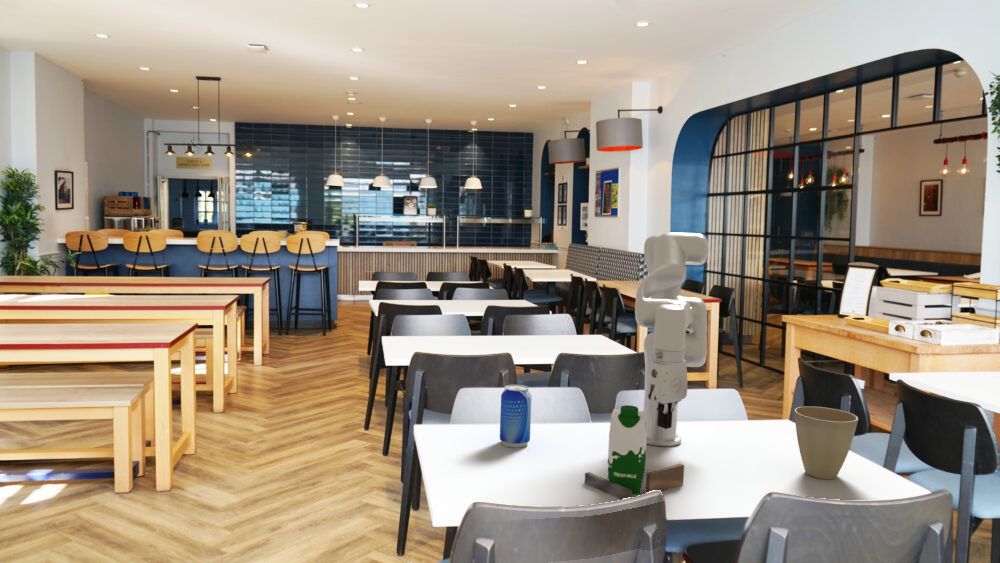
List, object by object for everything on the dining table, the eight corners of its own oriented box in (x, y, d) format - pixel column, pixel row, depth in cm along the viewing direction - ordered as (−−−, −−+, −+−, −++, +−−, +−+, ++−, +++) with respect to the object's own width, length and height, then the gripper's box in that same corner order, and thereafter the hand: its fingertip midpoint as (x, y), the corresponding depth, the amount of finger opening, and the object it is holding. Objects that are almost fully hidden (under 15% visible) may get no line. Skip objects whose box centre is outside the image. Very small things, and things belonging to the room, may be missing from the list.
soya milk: (605, 492, 178) (609, 408, 176) (607, 479, 186) (611, 399, 184) (644, 496, 176) (648, 411, 174) (644, 482, 185) (648, 402, 183)
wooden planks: (584, 483, 183) (585, 462, 183) (640, 468, 195) (641, 449, 195) (627, 501, 172) (628, 480, 172) (683, 485, 184) (685, 465, 184)
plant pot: (848, 489, 185) (853, 425, 184) (784, 476, 193) (789, 414, 191) (857, 472, 198) (861, 412, 196) (796, 460, 206) (801, 403, 204)
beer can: (494, 445, 210) (496, 388, 208) (506, 437, 218) (508, 382, 216) (523, 450, 207) (525, 392, 205) (533, 441, 215) (536, 386, 213)
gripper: (659, 362, 180) (655, 437, 182) (700, 354, 188) (695, 425, 191) (636, 356, 185) (632, 428, 188) (676, 348, 194) (672, 417, 197)
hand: (664, 426), depth 190 cm, fingers closed
